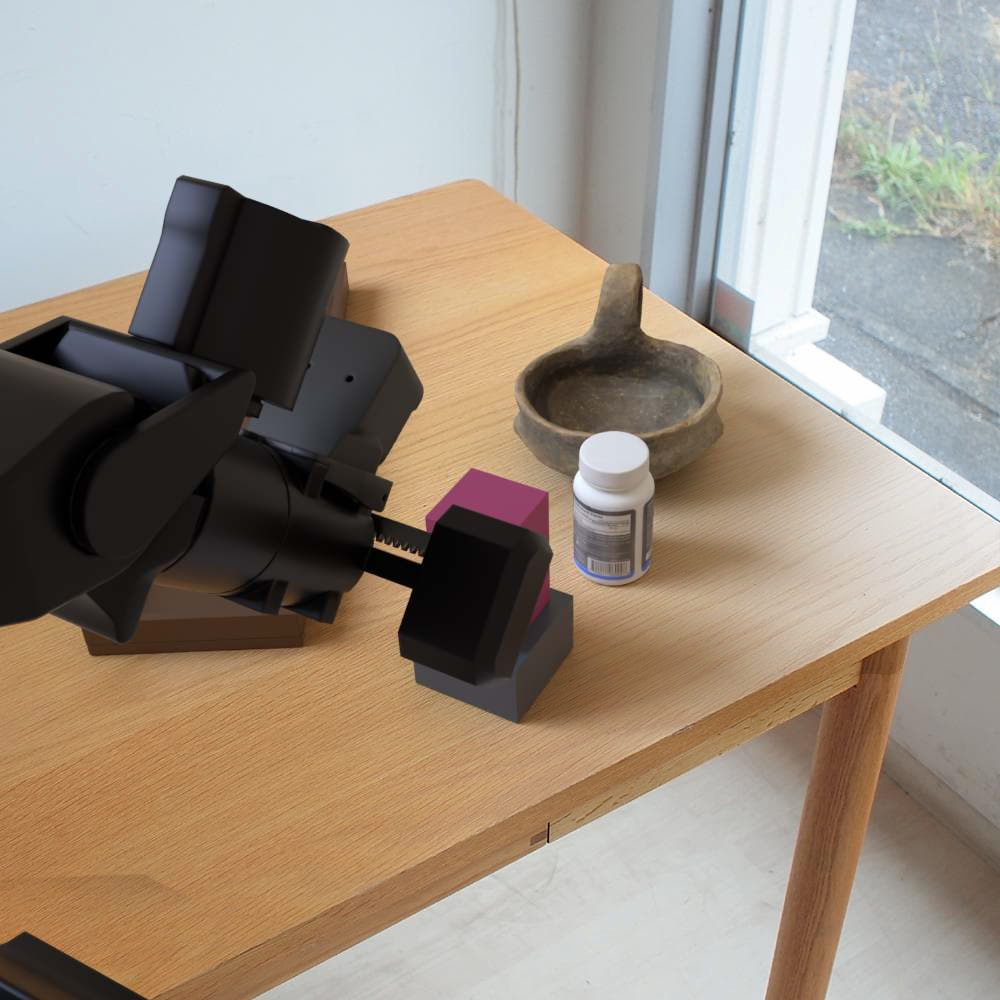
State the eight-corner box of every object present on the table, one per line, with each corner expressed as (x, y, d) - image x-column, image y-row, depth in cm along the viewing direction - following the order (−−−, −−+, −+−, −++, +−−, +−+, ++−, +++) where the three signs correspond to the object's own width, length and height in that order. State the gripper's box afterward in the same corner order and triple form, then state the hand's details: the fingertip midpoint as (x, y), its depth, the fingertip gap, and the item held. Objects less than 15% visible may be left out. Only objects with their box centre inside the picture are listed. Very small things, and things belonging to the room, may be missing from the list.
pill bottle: (613, 526, 83) (616, 416, 78) (667, 563, 80) (674, 451, 75) (556, 559, 81) (555, 448, 75) (610, 599, 78) (612, 486, 72)
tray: (302, 647, 75) (297, 613, 74) (89, 655, 75) (78, 622, 74) (349, 289, 108) (345, 261, 106) (199, 295, 108) (194, 267, 106)
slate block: (518, 724, 70) (516, 671, 68) (415, 682, 73) (409, 630, 70) (573, 647, 75) (573, 595, 72) (474, 611, 77) (471, 559, 75)
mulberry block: (509, 653, 69) (504, 543, 64) (434, 625, 71) (424, 516, 66) (550, 600, 72) (549, 491, 67) (477, 574, 74) (471, 467, 69)
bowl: (501, 515, 84) (496, 384, 78) (533, 367, 98) (531, 245, 91) (720, 528, 82) (732, 395, 76) (721, 375, 96) (731, 252, 90)
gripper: (523, 363, 43) (651, 454, 58) (99, 246, 51) (305, 352, 65) (413, 685, 43) (568, 697, 57) (2, 519, 51) (230, 566, 65)
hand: (410, 564), depth 61 cm, fingers open, 9 cm apart
